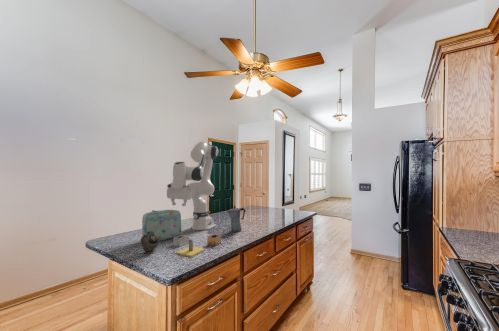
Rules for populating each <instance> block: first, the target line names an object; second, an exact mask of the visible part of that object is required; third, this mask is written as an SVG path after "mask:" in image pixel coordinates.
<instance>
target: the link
mask: <svg viewBox="0 0 499 331" xmlns="http://www.w3.org/2000/svg"><path fill="white" fill-rule="evenodd" d="M172 239H173V242H172V243H173V246H174V247H180V248H181V247H183V246H185V245H187V244H188V245H189V239H190V236H189V235H185V234H180V235H179V236H177V237H174V238H172Z"/></svg>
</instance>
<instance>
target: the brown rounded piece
mask: <svg viewBox="0 0 499 331" xmlns="http://www.w3.org/2000/svg"><path fill="white" fill-rule="evenodd" d="M206 240H207V244H206V245H207V246H211V247H217V246H218V245H219V244H221V243H222V234H215V233H213V234H212V235H210V236H208V237H207V238H206Z"/></svg>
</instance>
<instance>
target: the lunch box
mask: <svg viewBox="0 0 499 331" xmlns="http://www.w3.org/2000/svg"><path fill="white" fill-rule="evenodd" d="M141 220H142V221H141V222H142V225H141V226H142V227H141V228H142V237H143V236H144V235H145V234H148V233H151V232H152V231H153V234H154V235H156V236H157V238H158V242H162V241H166V240H170V239H173V238H174V237H177V236H180V235H181V233H182V216H181V212H180V211H179V210H178V209H177V210H176V209H163V210H154V209H153V210H151V211H149V212H146V213H144V214H143V216H142V217H141ZM143 234H144V235H143Z"/></svg>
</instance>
